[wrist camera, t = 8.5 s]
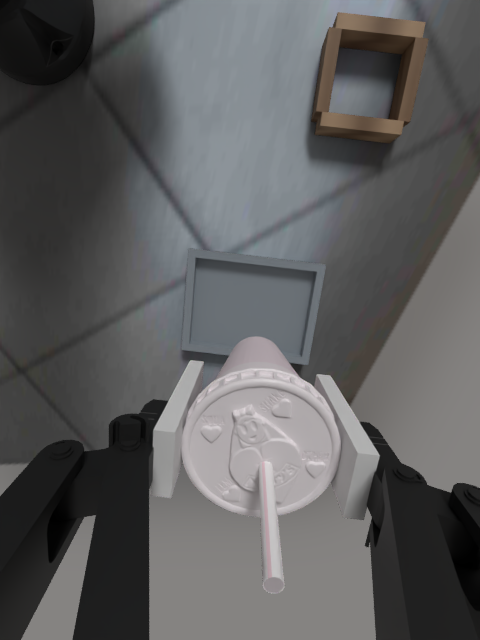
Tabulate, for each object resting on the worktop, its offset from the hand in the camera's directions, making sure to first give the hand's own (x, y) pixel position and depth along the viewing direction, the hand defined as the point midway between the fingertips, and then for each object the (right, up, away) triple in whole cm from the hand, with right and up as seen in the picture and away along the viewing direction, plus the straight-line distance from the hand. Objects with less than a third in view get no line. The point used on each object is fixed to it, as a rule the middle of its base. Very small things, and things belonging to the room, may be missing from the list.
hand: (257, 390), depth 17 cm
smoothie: (0, +1, +4) cm, 5 cm away
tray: (+1, +6, +26) cm, 27 cm away
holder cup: (+14, +32, +20) cm, 40 cm away
